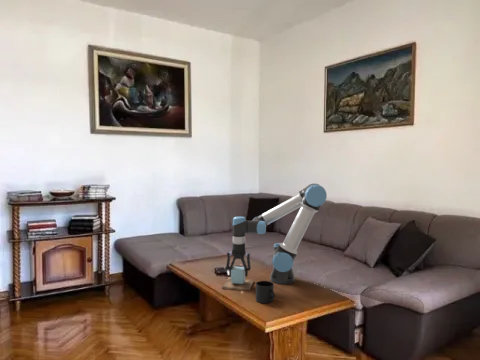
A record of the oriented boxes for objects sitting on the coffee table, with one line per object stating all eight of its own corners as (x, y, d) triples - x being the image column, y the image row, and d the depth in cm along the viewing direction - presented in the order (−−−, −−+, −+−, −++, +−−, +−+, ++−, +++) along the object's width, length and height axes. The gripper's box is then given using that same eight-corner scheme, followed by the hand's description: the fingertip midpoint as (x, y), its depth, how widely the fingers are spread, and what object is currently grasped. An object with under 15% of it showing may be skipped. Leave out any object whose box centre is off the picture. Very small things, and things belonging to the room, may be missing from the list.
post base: (253, 281, 228) (253, 270, 228) (249, 290, 212) (249, 278, 212) (228, 280, 231) (228, 268, 231) (222, 288, 215) (222, 276, 215)
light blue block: (245, 280, 224) (245, 266, 224) (243, 283, 217) (243, 269, 217) (233, 279, 226) (233, 265, 225) (231, 283, 219) (231, 268, 218)
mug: (267, 306, 190) (268, 289, 189) (251, 299, 199) (252, 283, 198) (280, 302, 196) (280, 285, 196) (264, 295, 205) (264, 279, 205)
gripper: (256, 242, 222) (255, 280, 223) (223, 240, 226) (223, 278, 227) (254, 245, 215) (254, 284, 216) (220, 243, 218) (220, 281, 220)
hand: (238, 281), depth 222 cm, fingers closed on light blue block, 7 cm apart
